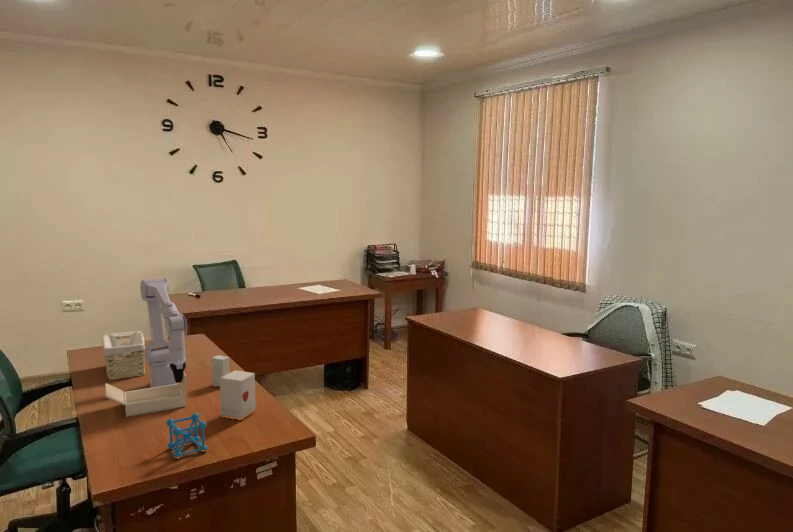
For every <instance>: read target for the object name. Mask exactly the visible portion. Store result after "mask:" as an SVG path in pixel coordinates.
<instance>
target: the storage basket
mask: <svg viewBox="0 0 793 532" xmlns="http://www.w3.org/2000/svg"><path fill="white" fill-rule="evenodd" d="M129 338H130V341H126V342H117V341H118V340H121V339H122V340H123V339H129ZM145 347H146V345H145V337H144V334H143V332H142V331H140V330H137V331H124V332H123V331H122V332H115V333H105V334H103V336H102V349H103V355H104V359H105V367H106V375H107V378H108V380H114V381H115V380H119V379H120V378H121V379H128V378H135V377H141V376H144V375H145V374H146V368H145V365H146V360H145ZM134 376H135V377H134ZM127 377H128V378H127Z"/></svg>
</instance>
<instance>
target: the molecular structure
mask: <svg viewBox="0 0 793 532" xmlns="http://www.w3.org/2000/svg"><path fill="white" fill-rule="evenodd" d="M188 420H192V421H191V422H190V425H189V427H185V428H180V427H179V426H177V425H176V424H175V423H178V422H179V423H180V422H184V421H188ZM166 426H167V427H168V428H169V429H168V430H169V443H168V444H167V449H169V448H172V451H173V453H174V454H173V458H174V457H179V456H182V455H183V454H186V455H188V454H187V453H190V454H192V453H191V452H194V453H196V452H195V451H198V452H200V451H199V450H206V449H207V448H208V446H207V445H206V443H205V441H206V440H205V429H206V428H207V422H206V421H204V420H203V421H201V420H200V414H199V413H197V412H195V413H192V415H191V416H188V417H183V418H179V419H175V420H174V419H173V418H168V419H167V420H166ZM199 430H201V437H200V436H199V434H198V431H199ZM192 434H194V436H193V435H192ZM179 435H181V436H182V437H181V438H179ZM173 436H175V441H174V442H173ZM199 440H200V441H199ZM188 443H194V444H195V445H197V446H198V447H199V448H196V449H192V450H189V451H185V452H182V451H183V448H184V447H185V444H188ZM180 444H181V445H180ZM174 447H175V448H174ZM207 450H208V449H207ZM183 456H184V455H183ZM183 456H182V457H183Z"/></svg>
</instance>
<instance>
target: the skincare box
mask: <svg viewBox="0 0 793 532" xmlns="http://www.w3.org/2000/svg"><path fill="white" fill-rule="evenodd" d="M210 361H211V376H212V377H211V379H212V381H211V382H212V386H213V385H217V386H220V378H221V377H223V376H225V375H226V374H228V373H231V369H230V357H229V356H225V355H219V354H218V355H215V356H213V357H211V360H210ZM217 386H216V387H217Z"/></svg>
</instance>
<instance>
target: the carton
mask: <svg viewBox="0 0 793 532" xmlns="http://www.w3.org/2000/svg"><path fill="white" fill-rule="evenodd" d="M123 393H124V402H125V405H124V407H125V416H126V418H129V417H128V416H130V417H134V416H135V415H136V416H141V415H140V414H142V415H146V414H152V413H158V412H164V411H170V409H171V410H176V409H175V408H177V409H181V408H180V407H183V408H186V407H187V405H186V404H187V403H186V394H185V391H184V389H183V386H182V384H181V382H180V383H176V384H173V385H166V386H160V387H153V388H151V387H148V388H146V387H145V388H141V389H134V390H128V391H123ZM185 406H186V407H185Z"/></svg>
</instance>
